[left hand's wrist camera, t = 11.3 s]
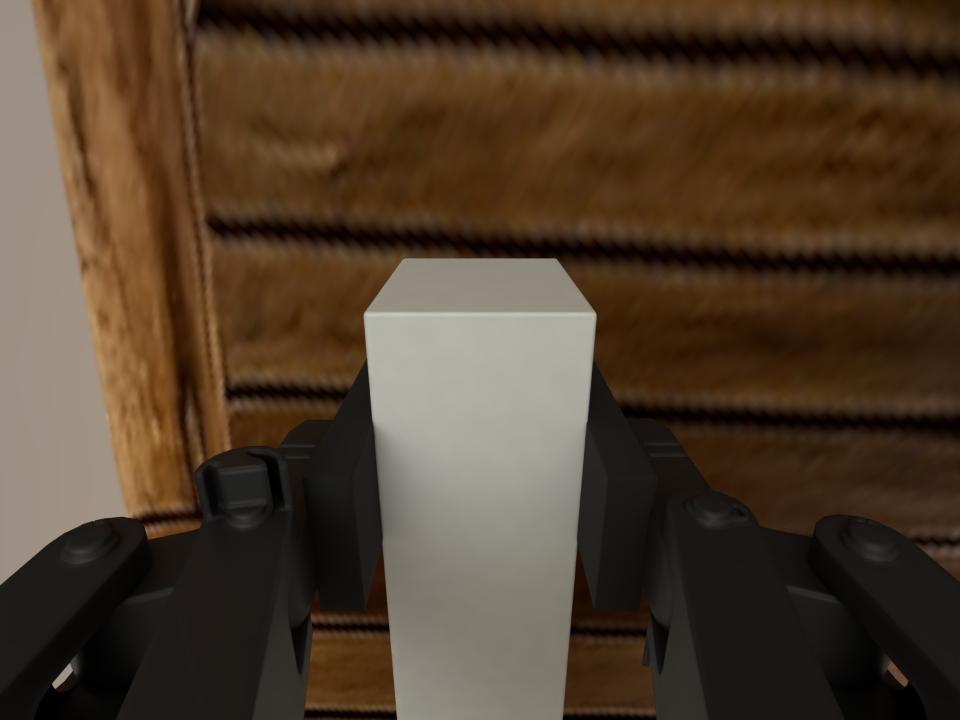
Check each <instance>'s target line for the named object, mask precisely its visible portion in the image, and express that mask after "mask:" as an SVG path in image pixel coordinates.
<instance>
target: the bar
mask: <svg viewBox="0 0 960 720" xmlns="http://www.w3.org/2000/svg"><path fill="white" fill-rule="evenodd" d="M596 318H597V315H596V313H595V311H594V310H593V308H592V307H591V306H590V304H589V303H588V302H587V300H586V299H585V297H584V296H583V295H582V293H581V292H580V291H579V289H578V288H577V287H576V285H575V284H574V282H573V281H572V280H571V278H570V277H569V276H568V274H567V273H566V271H565V270H564V269H563V267H562V266H561V265H560V263H559V262H558V260H557V259H403V260H402V262H401V263H400V264H399V266H398V267H397V269H396V270H395V271H394V273H393V274H392V276H391V277H390V278H389V280H388V281H387V282H386V284H385V285H384V287H383V288H382V289H381V291H380V292H379V294H378V295H377V296H376V298H375V299H374V301H373V302H372V303H371V305H370V306H369V307H368V309H367V310H366V312H365V313H364V326H365V338H366V350H367V362H368V374H369V386H370V398H371V410H372V421H373V428H374V440H375V452H376V464H377V476H378V488H379V500H380V512H381V524H382V536H383V541H382V542H383V554H384V566H385V578H386V590H387V602H388V614H389V626H390V638H391V650H392V662H393V674H394V686H395V698H396V710H397V720H563V708H564V696H565V684H566V673H567V661H568V649H569V637H570V625H571V614H572V602H573V590H574V578H575V566H576V554H577V543H578V542H577V532H578V520H579V508H580V496H581V484H582V472H583V460H584V447H585V435H586V423H587V421H588V413H589V401H590V389H591V377H592V365H593V354H594V342H595V330H596Z"/></svg>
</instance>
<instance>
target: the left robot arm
mask: <svg viewBox="0 0 960 720" xmlns="http://www.w3.org/2000/svg"><path fill="white" fill-rule="evenodd" d="M679 444H680V443H679V442H678V440H677V439H676V437H675V436H674V434H673V433H672V432H671V430H670V429H668V428H667V427H665V426H664V425H662V424H661V423H659V422H658V421H656V420H655V419H653V418H625V417H624V415H623V413H622V411H621V409H620V408H619V406H618V404H617V402H616V400H615V398H614V397H613V395H612V393H611V391H610V389H609V388H608V386H607V384H606V382H605V380H604V378H603V377H602V375H601V373H600V371H599V369H598V367H597V366H596V364H595V362H594V360H593V365H592V377H591V389H590V401H589V413H588V421H587V423H586V435H585V447H584V460H583V472H582V484H581V496H580V508H579V520H578V532H577V542H578V546H579V550H580V554H581V558H582V562H583V566H584V570H585V574H586V578H587V582H588V586H589V590H590V594H591V598H592V602H593V606H594V610H595V611H639V604H640V597H641V590H642V586H643V589H644V592H645V594H646V597H647V600H648V602H649V605H650V608H651V610H650V616H649V623H648V629H647V636H646V642H645V649H644V655H643V662H642V665H644V666H649V663H650V662H651V671H652V680H653V690H654V699H655V708H656V718H657V720H960V582H959V581H958V580H957V579H955V578H954V577H953V576H952V575H951V574H950V573H948V572H947V571H946V570H945V569H944V568H942V567H941V566H940V565H939V564H938V563H937V562H935V561H934V560H933V559H932V558H931V557H930V556H928V555H927V554H926V553H925V552H924V551H923V550H921V549H920V548H919V547H918V546H917V545H916V544H914V543H913V542H912V541H910V540H909V539H907V538H906V537H904V536H903V535H902V534H900V533H899V532H897V531H895V530H893V529H891V528H889V527H887V526H884V525H882V524H880V523H879V522H877V521H873V520H870V519H865V518H863V517H858V516H850V515H839V514H837V515H831V516H826V517H823V518H822V519H821V520H819V521H818V522H817V523H816V526H815V529H814V533H813V536H812V538H811V537H807V536H802V535H797V534H792V533H787V532H782V531H777V530H773V529H769V528H765V527H762V526H759V524H758V521H757V519H756V517H755V516H754V515H753V513H752V512H751V511H750V509H749V508H748V507H746V506H745V505H744V504H742V503H741V502H739V501H738V500H736V499H735V498H732V497H730V496H728V495H725V494H723V493H721V492H717V491H712V490H711V488H710V487H709V485H708V484H707V482H706V481H705V479H704V478H703V476H702V475H701V474H700V472H699V471H698V469H697V468H696V466H695V465H694V463H693V462H692V461H691V459H690V458H689V457H687V453H686V452H685V450H684V449H683V447H682V446H680V445H679ZM193 474H194V478H195V483H196V487H197V491H198V495H199V500H200V504H201V508H202V513H203V517H204V520H203V522H202V525H201V527H200V528H199V529H196V530H192V531H188V532H184V533H179V534H174V535H169V536H165V537H160V538H155V539H150V540H148V538H147V535H146V531H145V527H144V525H143V524H141V523H140V522H139V521H138V520H137V519H132V518H127V517H115V518H104V519H100V520H95V521H94V522H93V521H91V522H88V523H85V524H82V525H81V526H79V527H77V528H75V529H72V530H70V531H68V532H66V533H64V534H62V535H61V536H60V537H58V538H57V539H55V540H54V541H52V542H51V543H49V544H48V545H47V546H45V547H44V548H43V549H42V550H41V551H40V552H38V553H37V554H36V555H35V556H34V557H33V558H32V559H30V560H29V561H28V562H27V563H26V564H25V565H23V566H22V567H21V568H20V569H19V570H18V571H16V572H15V573H14V574H13V575H12V576H11V577H9V578H8V579H7V580H6V581H5V582H4V583H2V584H1V585H0V720H303V719H304V710H305V700H306V691H307V682H308V672H309V663H310V654H311V644H312V635H313V630H312V623H311V616H310V610H309V609H310V607H311V604H312V601H313V599H314V596H315V593H316V591H317V588H318V593H319V600H320V607H321V611H365V608H366V604H367V600H368V596H369V592H370V588H371V584H372V580H373V576H374V572H375V568H376V565H377V561H378V557H379V553H380V549H381V545H382V541H383V536H382V524H381V512H380V500H379V488H378V476H377V464H376V452H375V440H374V428H373V421H372V410H371V398H370V386H369V374H368V362H367V359H366V361H365V363H364V365H363V367H362V369H361V370H360V372H359V374H358V376H357V378H356V379H355V381H354V383H353V385H352V387H351V388H350V390H349V392H348V394H347V396H346V398H345V399H344V401H343V403H342V405H341V407H340V408H339V410H338V412H337V414H336V416H335V418H334V419H333V420H306V421H305V422H303V423H302V424H300V425H299V426H297V427H296V428H294V429H293V430H291V431H290V432H289V433H288V434H287V436H286V437H285V439H284V440H283V442H282V443H281V445H280V448H278V449H275V448H271V447H267V446H247V447H242V448H237V449H232V450H229V451H226V452H223V453H221V454H218V455H215V456H214V457H212V458H210V459H209V460H207V461H205V462H204V463H202V464H201V465H200V466H199V467H198V469H197V470H196V471H195V472H194V473H193ZM890 660H891V661H892V662H893V663H894V664H895V666H896V667H897V668H898V669H899V670H900V671H901V673H902V674H903V675H904V676H905V677H906V678H907V680H908V684H907V686H906V687H904V686H903V685H902V684H901V683H899V682H898V681H897V680H896V679H895V677H894V676H893V675H892V674H891V673H890V671H889V670H888V669H887V668H888V665H889V663H890ZM69 663H70V664H71V667H72V669H73V672H72V673H71V674H70V675H69V676H68V678H67V679H66V680H65V681H64V682H63V683H62V684H61V685H60V686H59V687H57V688H56V689H55V688H54V687H53V685H52V683H53V682H54V681H55V680H56V678H57V677H58V676H59V675H60V674H61V672H62V671H63V670H64V669H65V668H66V667H67V665H68V664H69Z"/></svg>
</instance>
